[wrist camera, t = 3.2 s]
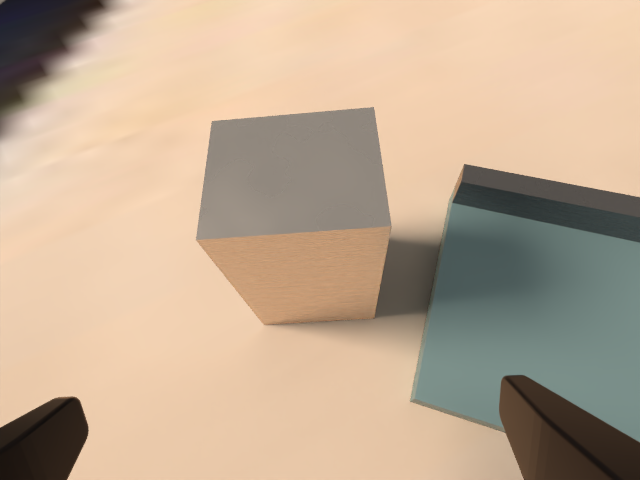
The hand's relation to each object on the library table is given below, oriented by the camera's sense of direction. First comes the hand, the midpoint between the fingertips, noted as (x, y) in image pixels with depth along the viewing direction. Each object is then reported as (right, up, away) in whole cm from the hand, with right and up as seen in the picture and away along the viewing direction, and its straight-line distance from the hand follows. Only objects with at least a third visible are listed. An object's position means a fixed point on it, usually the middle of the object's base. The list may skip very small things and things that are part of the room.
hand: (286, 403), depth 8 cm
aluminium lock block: (+1, +1, +13) cm, 14 cm away
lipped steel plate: (+13, -1, +11) cm, 17 cm away
